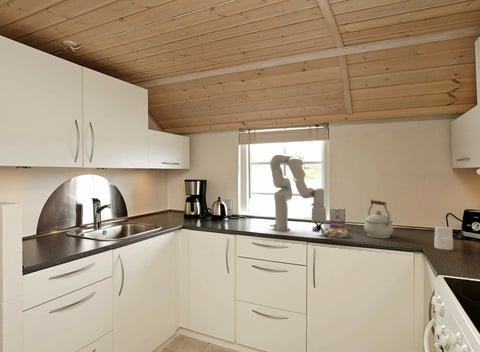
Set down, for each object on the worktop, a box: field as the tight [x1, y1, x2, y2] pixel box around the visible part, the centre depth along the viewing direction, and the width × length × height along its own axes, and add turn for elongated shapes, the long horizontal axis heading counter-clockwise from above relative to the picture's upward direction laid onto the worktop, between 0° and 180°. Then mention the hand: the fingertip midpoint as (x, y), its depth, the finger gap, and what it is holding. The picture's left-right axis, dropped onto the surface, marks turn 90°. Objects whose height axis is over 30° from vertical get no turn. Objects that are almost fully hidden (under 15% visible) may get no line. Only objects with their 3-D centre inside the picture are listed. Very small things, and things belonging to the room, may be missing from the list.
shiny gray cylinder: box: [311, 225, 319, 232], centre depth 215 cm, size 4×4×4 cm
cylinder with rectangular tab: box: [433, 226, 454, 251], centre depth 166 cm, size 9×9×12 cm
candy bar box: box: [329, 207, 346, 229], centre depth 224 cm, size 11×5×16 cm, turn 62°
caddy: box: [325, 227, 350, 239], centre depth 200 cm, size 14×14×4 cm
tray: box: [320, 226, 341, 236], centre depth 201 cm, size 14×14×4 cm
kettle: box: [363, 199, 394, 239], centre depth 199 cm, size 25×18×25 cm
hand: (318, 230), depth 202 cm, fingers closed
